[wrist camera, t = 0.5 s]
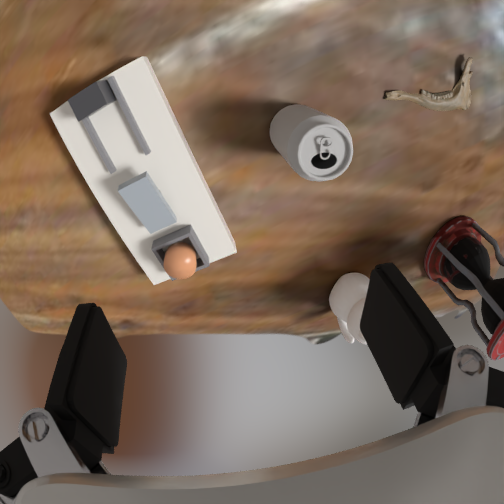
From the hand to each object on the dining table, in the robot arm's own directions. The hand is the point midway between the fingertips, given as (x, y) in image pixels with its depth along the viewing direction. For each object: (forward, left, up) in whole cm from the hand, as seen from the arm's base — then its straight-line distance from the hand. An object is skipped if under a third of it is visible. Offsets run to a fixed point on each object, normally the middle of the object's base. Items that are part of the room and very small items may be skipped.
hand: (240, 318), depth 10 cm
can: (+5, +10, -34) cm, 36 cm away
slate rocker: (+5, -11, -28) cm, 31 cm away
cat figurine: (+37, +11, -34) cm, 51 cm away
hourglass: (+39, +37, -34) cm, 63 cm away
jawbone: (+2, +35, -35) cm, 49 cm away
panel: (+3, -11, -34) cm, 35 cm away
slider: (-10, -11, -31) cm, 34 cm away
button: (+14, -11, -29) cm, 34 cm away
